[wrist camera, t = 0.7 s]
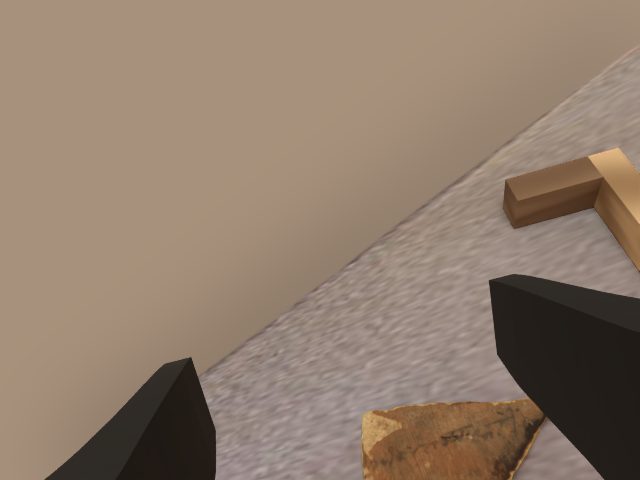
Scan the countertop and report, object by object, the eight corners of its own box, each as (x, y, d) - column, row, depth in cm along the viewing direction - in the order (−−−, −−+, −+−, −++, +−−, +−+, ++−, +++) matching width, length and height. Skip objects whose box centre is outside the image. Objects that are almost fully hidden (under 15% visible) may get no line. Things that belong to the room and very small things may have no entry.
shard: (556, 404, 27) (561, 393, 26) (601, 570, 22) (610, 568, 21) (363, 414, 29) (358, 405, 28) (368, 567, 25) (362, 565, 23)
